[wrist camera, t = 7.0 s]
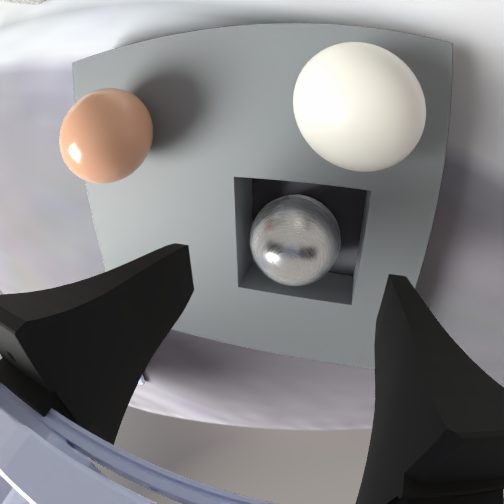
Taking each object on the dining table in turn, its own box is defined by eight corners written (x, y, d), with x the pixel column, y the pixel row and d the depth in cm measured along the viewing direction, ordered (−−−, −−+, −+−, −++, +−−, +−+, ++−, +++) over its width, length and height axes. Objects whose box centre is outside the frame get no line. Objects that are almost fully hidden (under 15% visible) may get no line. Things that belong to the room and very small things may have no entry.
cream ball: (302, 151, 11) (279, 179, 8) (303, 47, 9) (279, 27, 6) (406, 164, 10) (430, 199, 7) (414, 59, 8) (445, 45, 5)
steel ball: (260, 248, 17) (234, 291, 14) (268, 176, 15) (239, 205, 12) (334, 265, 16) (325, 314, 13) (350, 193, 14) (347, 228, 11)
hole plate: (138, 293, 22) (119, 314, 20) (103, 60, 14) (72, 62, 12) (384, 339, 17) (384, 370, 15) (435, 50, 9) (452, 43, 7)
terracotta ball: (108, 168, 14) (50, 197, 11) (100, 91, 12) (35, 104, 9) (174, 168, 13) (117, 200, 10) (168, 79, 11) (103, 84, 8)
